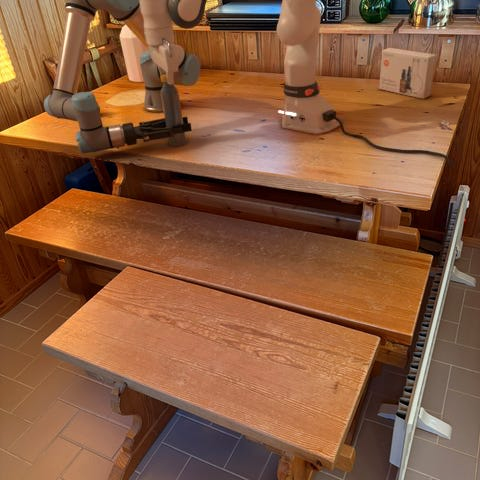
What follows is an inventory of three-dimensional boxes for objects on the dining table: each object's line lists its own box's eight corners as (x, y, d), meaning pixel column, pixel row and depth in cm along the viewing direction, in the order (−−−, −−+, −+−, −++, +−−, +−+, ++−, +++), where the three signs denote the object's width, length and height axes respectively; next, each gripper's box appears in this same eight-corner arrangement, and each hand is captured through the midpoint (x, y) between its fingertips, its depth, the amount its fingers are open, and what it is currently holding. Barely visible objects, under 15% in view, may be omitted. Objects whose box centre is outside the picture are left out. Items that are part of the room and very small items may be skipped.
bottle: (169, 146, 163) (157, 80, 150) (169, 140, 168) (158, 75, 155) (186, 144, 163) (175, 78, 150) (186, 138, 168) (176, 73, 155)
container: (160, 81, 233) (149, 21, 217) (121, 82, 238) (108, 23, 222) (174, 69, 249) (165, 13, 233) (138, 70, 254) (126, 15, 238)
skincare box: (377, 89, 194) (381, 50, 185) (385, 86, 197) (389, 47, 188) (423, 99, 180) (429, 56, 171) (430, 95, 183) (437, 53, 174)
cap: (173, 81, 152) (172, 76, 151) (161, 82, 151) (160, 77, 150) (173, 77, 155) (172, 73, 154) (161, 79, 155) (160, 74, 154)
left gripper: (124, 135, 169) (186, 124, 173) (127, 155, 154) (195, 143, 158) (119, 115, 165) (183, 105, 169) (122, 134, 149) (192, 122, 153)
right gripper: (179, 40, 138) (186, 86, 146) (161, 30, 154) (168, 72, 162) (158, 43, 136) (166, 90, 144) (142, 33, 152) (150, 76, 160)
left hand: (189, 123), depth 163 cm, fingers closed on bottle, 6 cm apart
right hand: (167, 81), depth 153 cm, fingers open, 6 cm apart
